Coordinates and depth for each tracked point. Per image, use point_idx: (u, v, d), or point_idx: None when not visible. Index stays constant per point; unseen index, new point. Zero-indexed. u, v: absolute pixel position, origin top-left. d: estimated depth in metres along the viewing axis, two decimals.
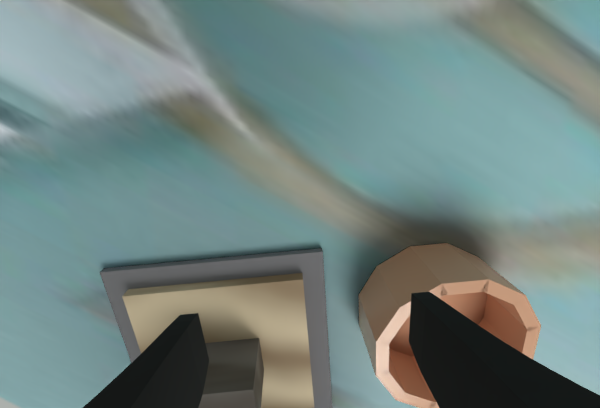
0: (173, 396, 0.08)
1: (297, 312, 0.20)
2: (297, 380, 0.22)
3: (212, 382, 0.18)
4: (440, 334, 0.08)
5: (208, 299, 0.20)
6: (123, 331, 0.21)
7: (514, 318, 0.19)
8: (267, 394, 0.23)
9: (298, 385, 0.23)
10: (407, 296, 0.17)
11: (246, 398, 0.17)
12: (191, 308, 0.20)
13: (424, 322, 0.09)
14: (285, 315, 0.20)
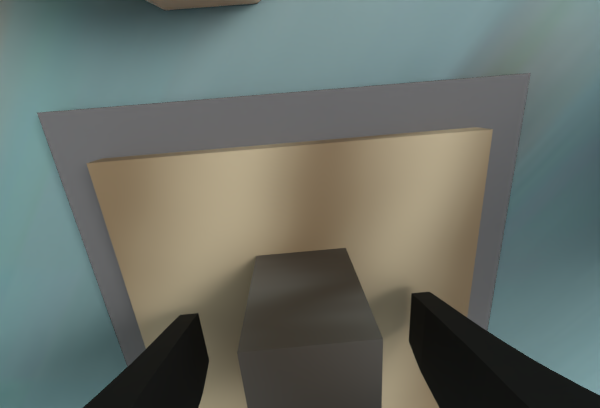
0: (173, 396, 0.08)
1: (182, 174, 0.09)
2: (389, 174, 0.09)
3: None
4: (440, 334, 0.08)
5: None
6: None
7: None
8: (421, 242, 0.10)
9: (406, 171, 0.09)
10: None
11: (272, 367, 0.06)
12: None
13: (424, 322, 0.09)
14: (191, 201, 0.09)
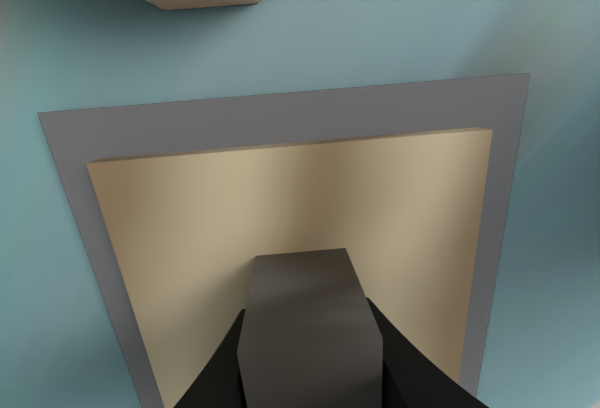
0: None
1: (182, 174, 0.09)
2: (389, 174, 0.09)
3: None
4: None
5: (166, 336, 0.11)
6: None
7: None
8: (421, 242, 0.10)
9: (406, 171, 0.09)
10: None
11: (272, 367, 0.06)
12: (189, 362, 0.11)
13: None
14: (191, 201, 0.09)
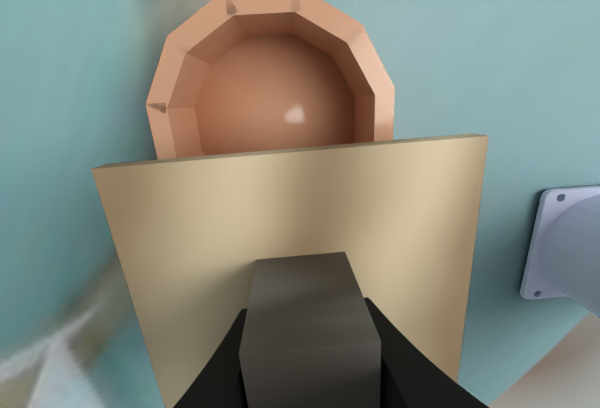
0: None
1: (184, 179, 0.09)
2: (388, 179, 0.09)
3: None
4: None
5: (168, 339, 0.11)
6: None
7: (238, 23, 0.12)
8: (419, 246, 0.10)
9: (404, 177, 0.09)
10: None
11: (273, 368, 0.06)
12: (190, 364, 0.11)
13: None
14: (194, 206, 0.09)
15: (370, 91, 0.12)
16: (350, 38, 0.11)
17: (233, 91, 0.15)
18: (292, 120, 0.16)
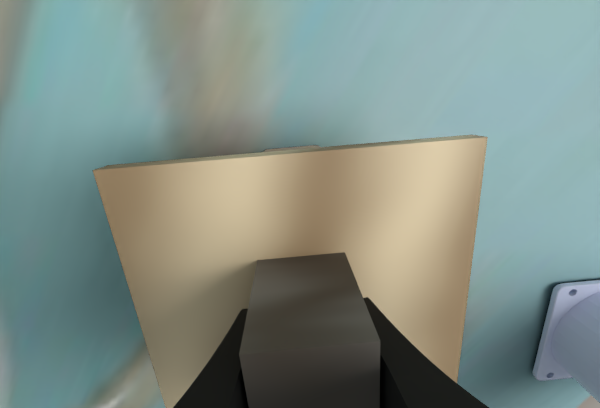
0: None
1: (185, 180, 0.09)
2: (387, 180, 0.09)
3: None
4: None
5: (168, 339, 0.11)
6: None
7: None
8: (419, 246, 0.10)
9: (404, 178, 0.09)
10: None
11: (273, 368, 0.06)
12: (190, 364, 0.11)
13: None
14: (194, 207, 0.09)
15: None
16: None
17: None
18: None
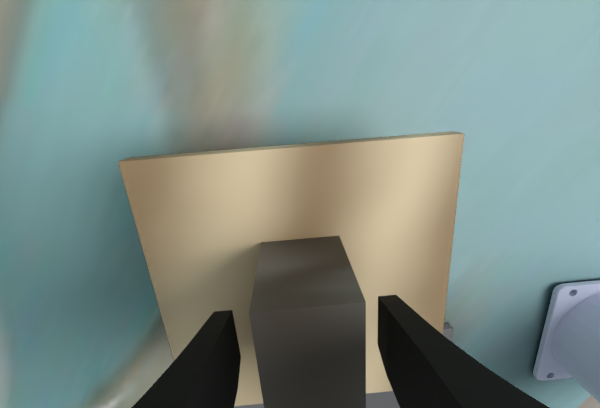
0: (216, 392, 0.08)
1: (199, 171, 0.10)
2: (376, 171, 0.11)
3: None
4: (400, 338, 0.08)
5: (182, 314, 0.12)
6: None
7: None
8: (405, 230, 0.11)
9: (391, 169, 0.11)
10: None
11: (276, 324, 0.08)
12: None
13: (388, 326, 0.09)
14: (206, 194, 0.11)
15: None
16: None
17: None
18: None
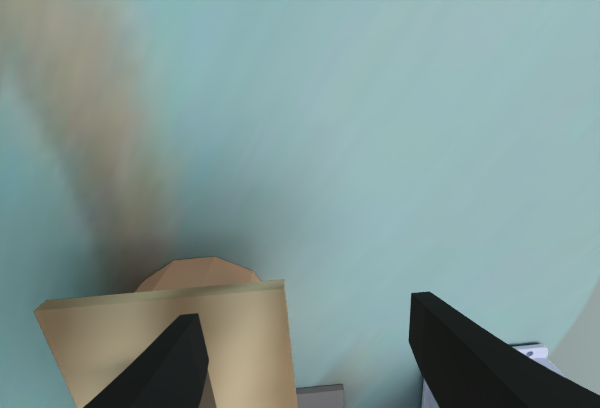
0: (173, 396, 0.08)
1: (93, 315, 0.14)
2: (224, 313, 0.14)
3: None
4: (440, 334, 0.08)
5: None
6: None
7: None
8: (253, 349, 0.15)
9: (234, 311, 0.14)
10: None
11: None
12: None
13: (424, 322, 0.09)
14: (100, 329, 0.14)
15: None
16: None
17: None
18: None
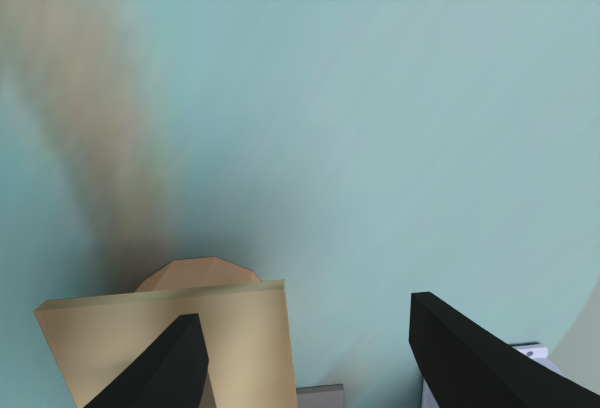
0: (173, 396, 0.08)
1: (93, 315, 0.14)
2: (224, 313, 0.14)
3: None
4: (440, 334, 0.08)
5: None
6: None
7: None
8: (253, 349, 0.15)
9: (234, 311, 0.14)
10: None
11: None
12: None
13: (424, 322, 0.09)
14: (100, 330, 0.14)
15: None
16: None
17: None
18: None
